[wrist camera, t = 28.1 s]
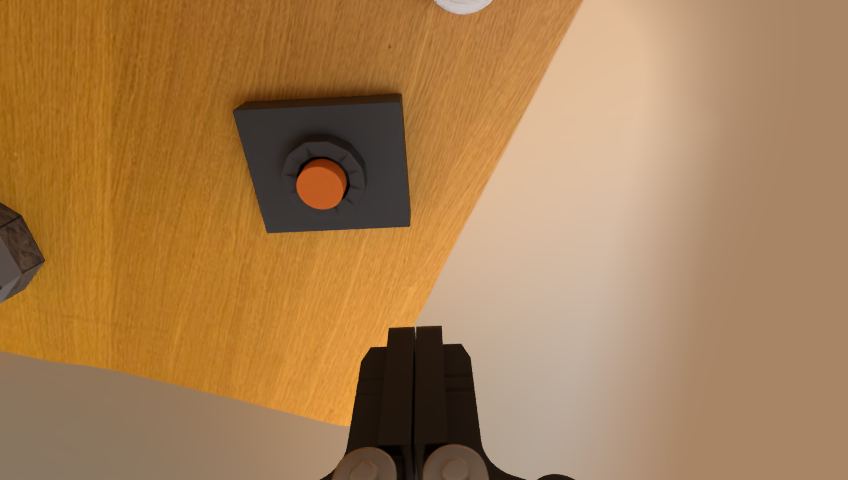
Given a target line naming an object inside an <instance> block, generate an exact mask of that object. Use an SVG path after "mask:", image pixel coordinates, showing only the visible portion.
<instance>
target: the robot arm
mask: <svg viewBox="0 0 848 480" xmlns="http://www.w3.org/2000/svg"><path fill="white" fill-rule="evenodd" d="M358 379H359V381H358V384H357V390H356V396H355V402H354V408H353V414H352V420H351V426H350V432H349V438H348V444H347V449H346V452H345V455H344V457H343V459H342V460H341V461H340V462H339V464H338V465H337V467H336V468H335V469H334V470H333V471H332V472H331V473H330V474H328V475H327V476H326V477H324V478H322V479H320V480H525V479H522V478H519V477H516V476H512V475H510V474H507V473H505V472H503V471H502V470H500V469H499V468H497V467H496V466H495V465H494V464H493V463H492V462H491V461H490V460H489V458H488V457H487V456H486V454H485V452H484V450H483V447H482V443H481V436H480V429H479V421H478V413H477V405H476V398H475V391H474V382H473V374H472V366H471V358H470V356H469V355H468V353H467V352H466V350H465V349H464V347H463V346H462V344H443V342H442V326H421V327H416V334H415V327H399V328H389V331H388V341H387V347H371V348H370V350H369V351H368V352H367V354H366V355H365V357H364V358H363V360H362V361H361V366H360V372H359V378H358ZM538 480H574V479H572V478H570V477H568V476H564V475H559V474H550V475H546V476H543V477H541V478H539V479H538Z"/></svg>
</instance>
